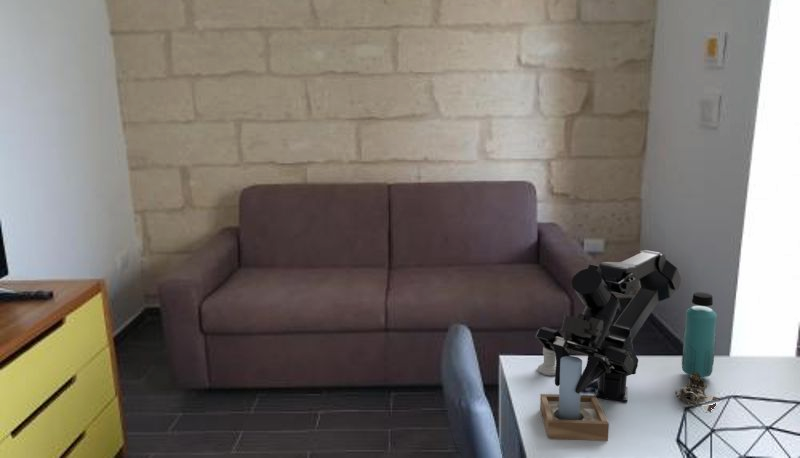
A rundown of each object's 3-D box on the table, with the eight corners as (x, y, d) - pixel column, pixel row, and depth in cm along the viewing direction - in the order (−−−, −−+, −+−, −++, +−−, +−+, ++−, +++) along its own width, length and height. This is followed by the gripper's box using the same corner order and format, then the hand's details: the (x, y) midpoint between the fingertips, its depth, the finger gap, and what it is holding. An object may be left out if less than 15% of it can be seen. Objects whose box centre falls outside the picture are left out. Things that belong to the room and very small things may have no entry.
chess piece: (558, 378, 139) (559, 341, 137) (535, 373, 141) (536, 337, 139) (562, 368, 143) (564, 333, 141) (540, 364, 145) (541, 329, 144)
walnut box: (540, 409, 125) (540, 394, 124) (594, 410, 124) (595, 395, 123) (548, 438, 114) (549, 422, 113) (607, 440, 113) (608, 423, 112)
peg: (567, 409, 120) (569, 354, 118) (583, 418, 117) (586, 361, 115) (553, 416, 118) (556, 359, 115) (570, 424, 115) (573, 366, 112)
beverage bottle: (717, 383, 134) (726, 298, 130) (687, 384, 135) (695, 298, 130) (703, 370, 141) (711, 289, 137) (674, 371, 141) (681, 289, 137)
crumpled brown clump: (672, 412, 121) (659, 370, 130) (670, 432, 125) (657, 390, 134) (736, 409, 119) (718, 367, 128) (733, 429, 123) (715, 387, 132)
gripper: (541, 288, 122) (509, 356, 117) (631, 310, 109) (599, 387, 104) (560, 315, 129) (530, 380, 124) (646, 338, 116) (617, 411, 111)
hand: (566, 388), depth 115 cm, fingers closed on peg, 4 cm apart
